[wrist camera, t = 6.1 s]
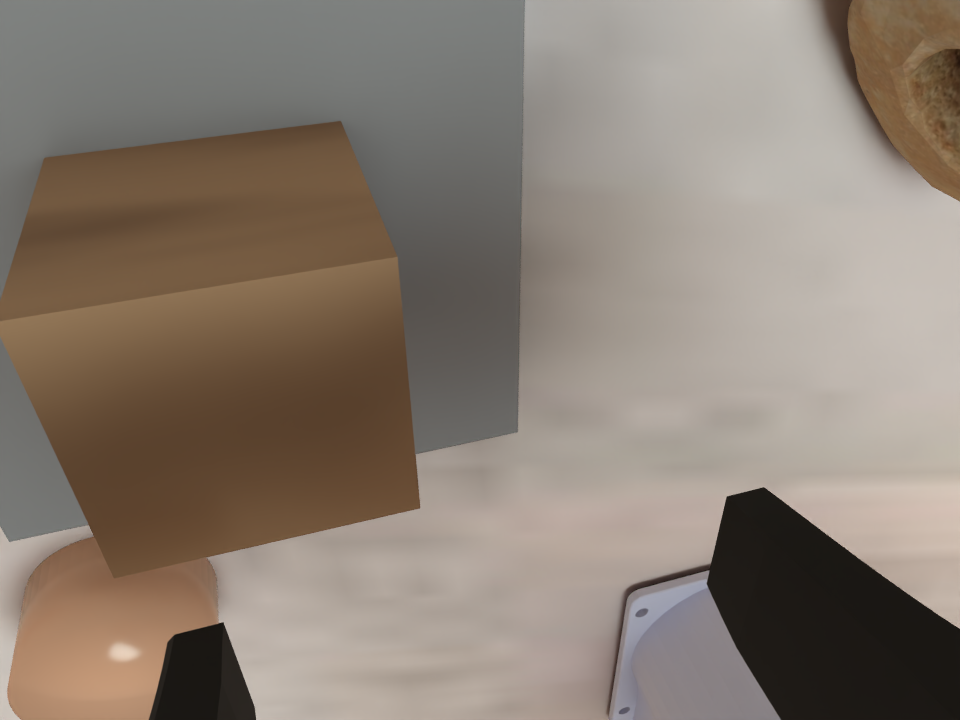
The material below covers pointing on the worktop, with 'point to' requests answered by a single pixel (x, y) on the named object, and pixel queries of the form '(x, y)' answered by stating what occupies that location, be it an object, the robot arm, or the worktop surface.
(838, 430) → the worktop surface
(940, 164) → the pipe
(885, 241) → the worktop surface
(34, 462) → the slate base
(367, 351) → the walnut cube
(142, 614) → the terracotta puck
